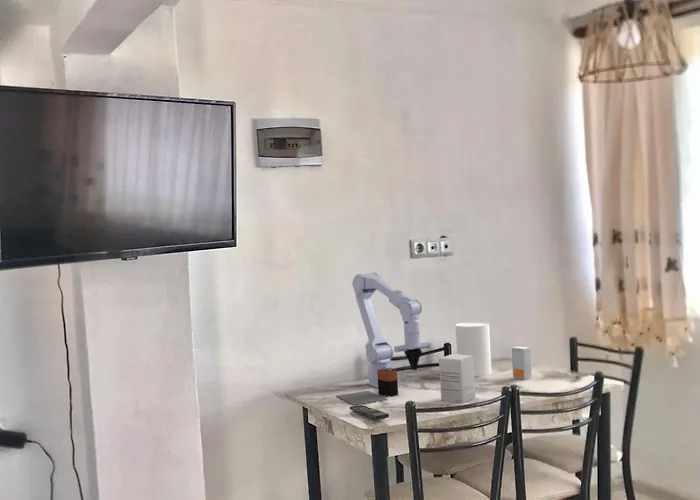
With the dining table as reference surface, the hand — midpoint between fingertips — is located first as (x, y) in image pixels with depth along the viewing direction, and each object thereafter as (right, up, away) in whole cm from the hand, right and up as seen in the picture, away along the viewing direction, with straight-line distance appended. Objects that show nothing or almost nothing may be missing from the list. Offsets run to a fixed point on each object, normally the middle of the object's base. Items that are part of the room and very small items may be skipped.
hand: (414, 369), depth 269 cm
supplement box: (+14, -8, -17) cm, 23 cm away
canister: (+27, -6, +27) cm, 39 cm away
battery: (-10, -9, -4) cm, 14 cm away
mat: (-20, -9, -7) cm, 23 cm away
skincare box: (+43, -6, +12) cm, 45 cm away
